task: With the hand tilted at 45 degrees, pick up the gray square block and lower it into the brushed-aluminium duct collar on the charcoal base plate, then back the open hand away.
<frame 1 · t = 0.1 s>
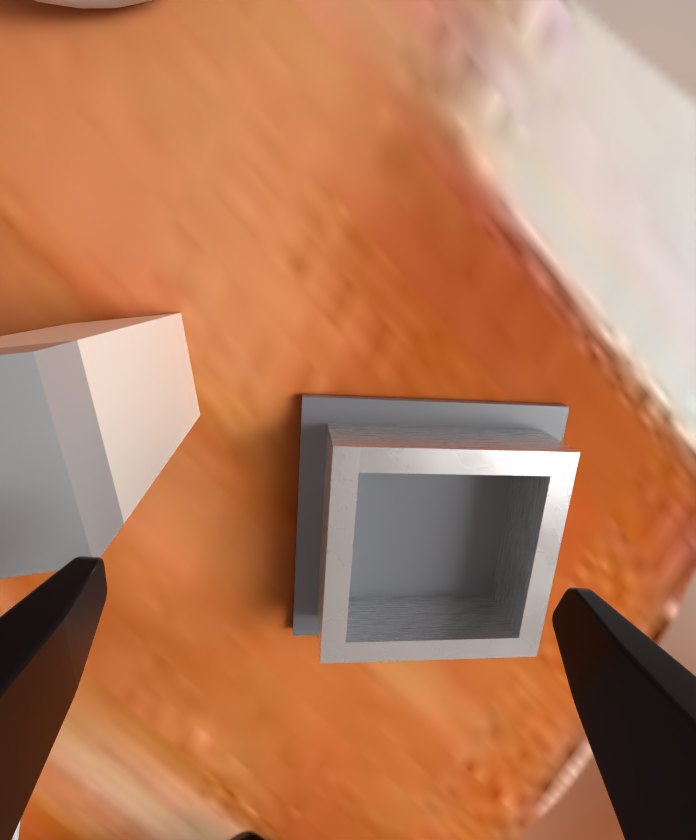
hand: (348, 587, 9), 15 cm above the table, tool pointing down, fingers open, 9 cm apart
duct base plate: (422, 520, 26), on the table
metal collar: (434, 542, 24), on the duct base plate, point 2 cm above the table
gray square block: (137, 371, 22), on the table
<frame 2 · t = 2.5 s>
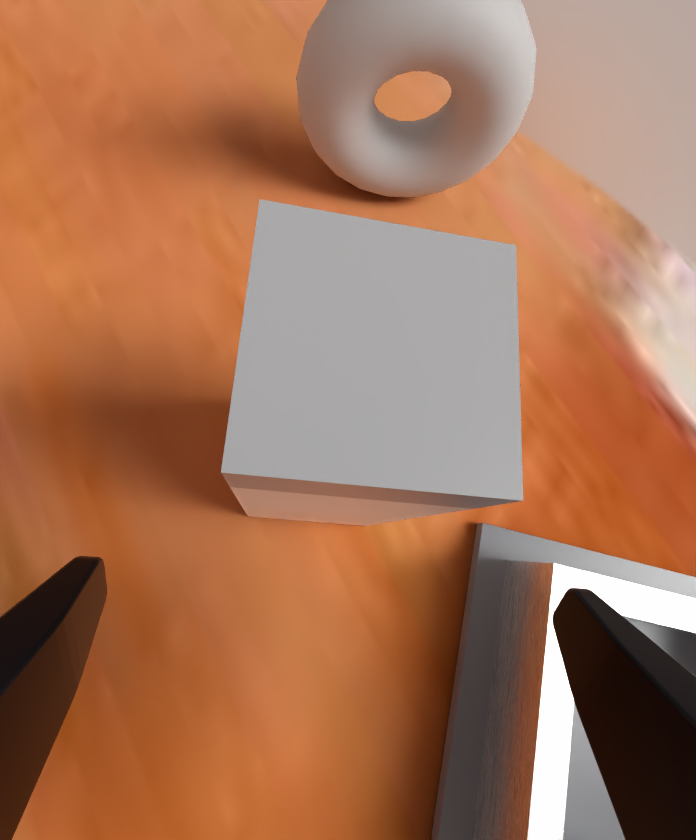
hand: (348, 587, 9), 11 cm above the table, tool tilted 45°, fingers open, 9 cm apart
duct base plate: (606, 726, 20), on the table
metal collar: (650, 750, 18), on the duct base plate, point 2 cm above the table
donut: (383, 186, 25), on the table
gray square block: (312, 463, 21), on the table
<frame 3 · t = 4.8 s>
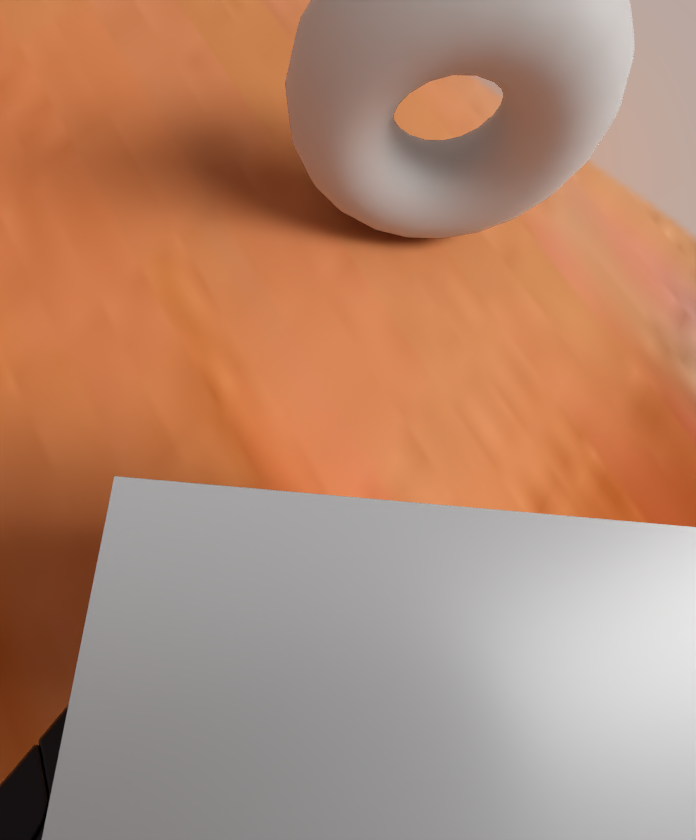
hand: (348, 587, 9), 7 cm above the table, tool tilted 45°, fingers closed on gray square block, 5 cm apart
donut: (400, 220, 20), on the table
gray square block: (309, 614, 15), on the table, touching gripper
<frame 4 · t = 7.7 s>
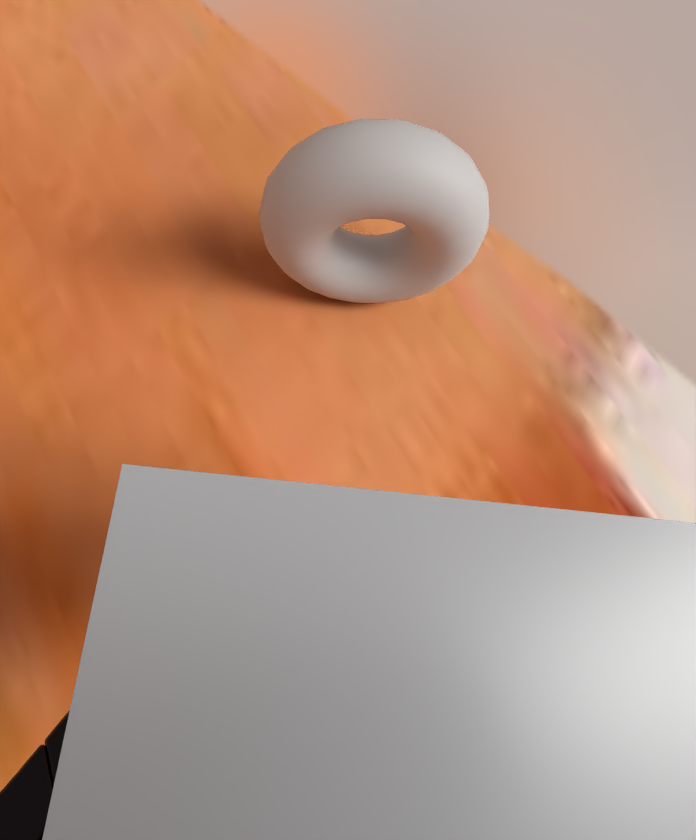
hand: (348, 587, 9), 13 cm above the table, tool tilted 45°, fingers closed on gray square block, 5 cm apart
donut: (352, 286, 26), on the table
gray square block: (314, 613, 15), point 7 cm above the table, touching gripper
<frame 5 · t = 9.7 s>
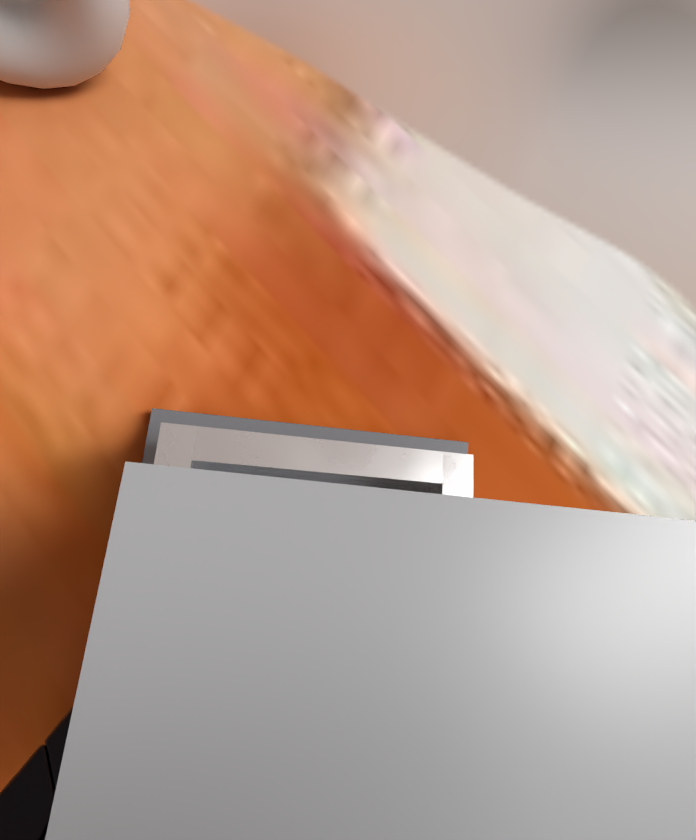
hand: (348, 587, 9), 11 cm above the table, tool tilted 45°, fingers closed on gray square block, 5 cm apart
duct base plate: (301, 592, 20), on the table
metal collar: (306, 599, 17), on the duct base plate, point 2 cm above the table
donut: (48, 81, 23), on the table
gray square block: (315, 613, 15), point 5 cm above the table, touching gripper
when the fingers open (9 cm above the table, at t = 11.0 s): gray square block drops 1 cm, resting on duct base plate.
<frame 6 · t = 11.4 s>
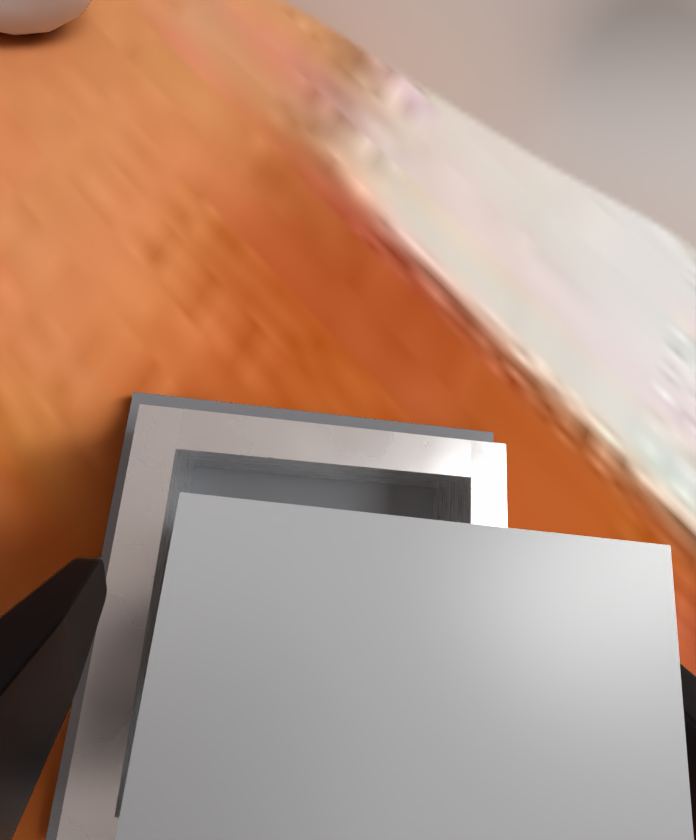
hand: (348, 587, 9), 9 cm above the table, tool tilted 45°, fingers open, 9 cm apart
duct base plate: (305, 603, 17), on the table
metal collar: (311, 614, 15), on the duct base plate, point 2 cm above the table
donut: (21, 28, 21), on the table
gray square block: (305, 606, 16), point 1 cm above the table, touching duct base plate
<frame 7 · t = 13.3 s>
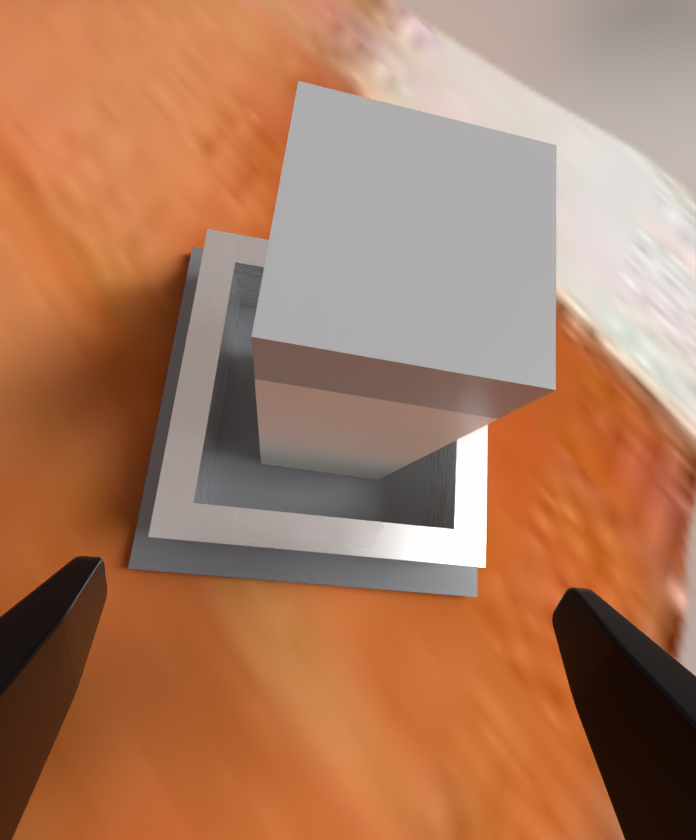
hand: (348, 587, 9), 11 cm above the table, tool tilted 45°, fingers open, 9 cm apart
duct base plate: (327, 418, 21), on the table
metal collar: (334, 404, 19), on the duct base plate, point 2 cm above the table
gray square block: (327, 415, 21), point 1 cm above the table, touching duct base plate
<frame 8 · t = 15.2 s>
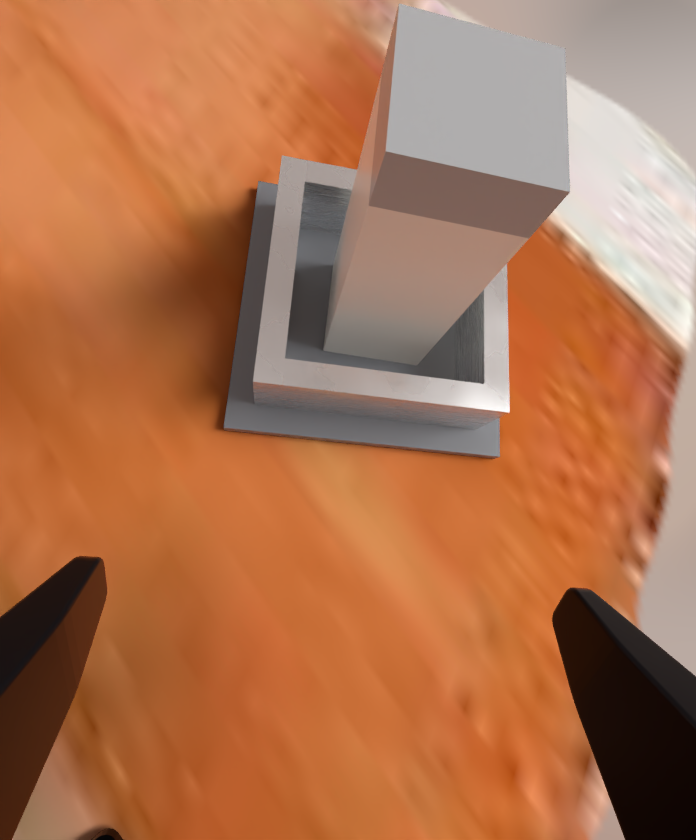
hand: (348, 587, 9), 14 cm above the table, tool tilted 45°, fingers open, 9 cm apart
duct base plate: (373, 319, 26), on the table
metal collar: (383, 298, 23), on the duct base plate, point 2 cm above the table
gray square block: (374, 314, 25), point 1 cm above the table, touching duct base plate
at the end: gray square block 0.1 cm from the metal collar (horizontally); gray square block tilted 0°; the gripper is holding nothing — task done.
